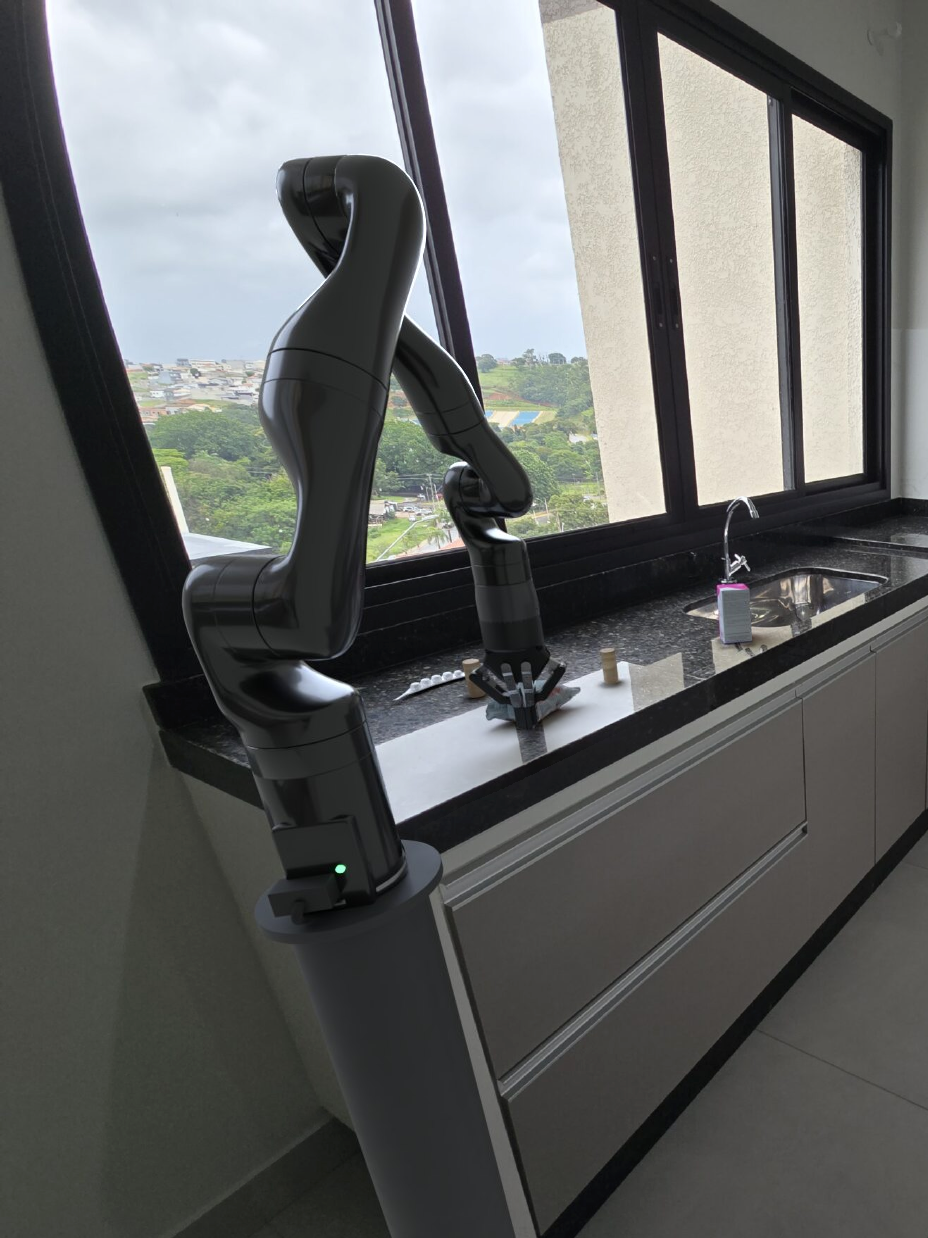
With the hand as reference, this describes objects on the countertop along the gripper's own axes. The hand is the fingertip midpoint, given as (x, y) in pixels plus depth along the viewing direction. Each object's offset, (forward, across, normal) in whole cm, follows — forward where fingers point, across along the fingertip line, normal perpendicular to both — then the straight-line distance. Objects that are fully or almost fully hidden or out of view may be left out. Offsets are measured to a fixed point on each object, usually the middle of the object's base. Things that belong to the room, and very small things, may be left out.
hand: (529, 727), depth 107 cm
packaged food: (+2, 0, +8) cm, 8 cm away
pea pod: (+2, -18, +27) cm, 32 cm away
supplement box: (+1, +34, +38) cm, 51 cm away
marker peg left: (+1, -11, +20) cm, 23 cm away
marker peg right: (+1, +10, +20) cm, 23 cm away
